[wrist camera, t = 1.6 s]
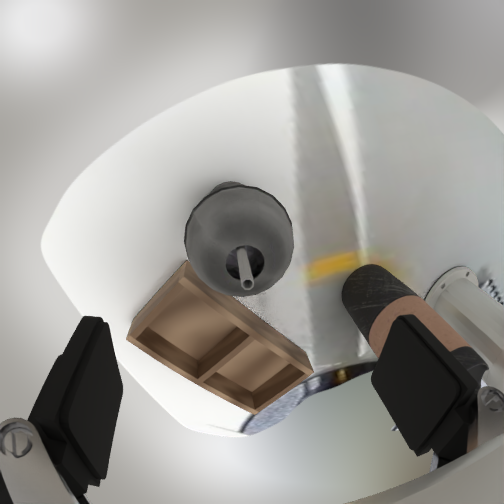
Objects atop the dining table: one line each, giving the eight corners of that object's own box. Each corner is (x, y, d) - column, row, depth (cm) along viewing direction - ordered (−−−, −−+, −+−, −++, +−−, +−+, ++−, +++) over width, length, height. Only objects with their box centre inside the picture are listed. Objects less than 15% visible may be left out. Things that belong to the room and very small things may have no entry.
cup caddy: (305, 352, 39) (313, 372, 35) (251, 393, 41) (254, 414, 37) (186, 260, 32) (183, 276, 28) (133, 319, 34) (125, 339, 30)
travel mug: (327, 300, 36) (405, 424, 18) (365, 251, 34) (475, 351, 16) (366, 322, 39) (442, 430, 20) (400, 278, 37) (498, 371, 18)
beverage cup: (208, 246, 32) (206, 388, 13) (184, 181, 29) (135, 258, 11) (273, 224, 32) (350, 342, 13) (253, 158, 29) (323, 195, 11)
